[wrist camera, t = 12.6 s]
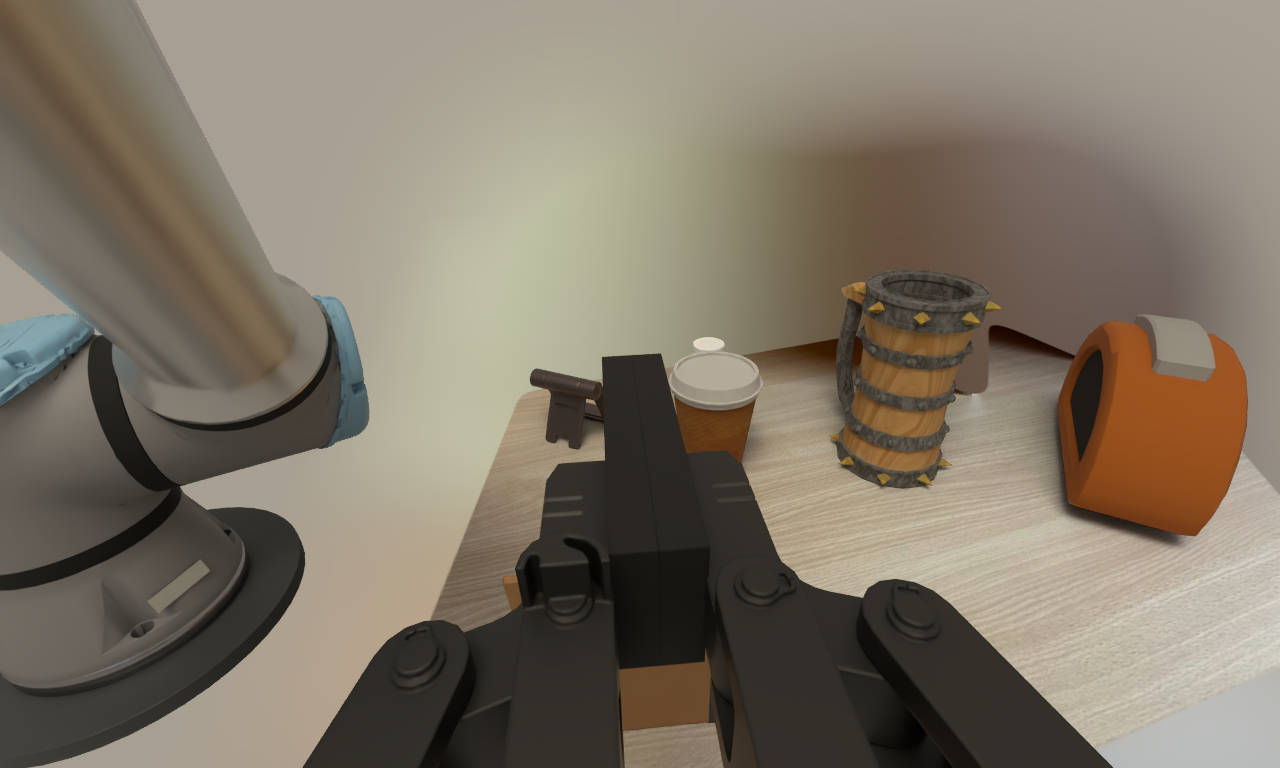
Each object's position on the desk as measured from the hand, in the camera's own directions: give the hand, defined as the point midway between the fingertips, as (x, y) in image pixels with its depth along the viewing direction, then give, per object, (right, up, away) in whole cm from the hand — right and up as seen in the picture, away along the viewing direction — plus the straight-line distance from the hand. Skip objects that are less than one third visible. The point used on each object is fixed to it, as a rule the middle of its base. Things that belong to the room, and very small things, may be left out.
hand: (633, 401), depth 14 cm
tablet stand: (-7, -5, +53) cm, 54 cm away
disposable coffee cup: (+8, -9, +46) cm, 48 cm away
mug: (+27, -7, +48) cm, 55 cm away
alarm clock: (+50, -9, +43) cm, 66 cm away
